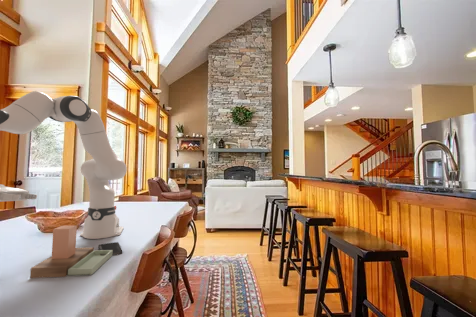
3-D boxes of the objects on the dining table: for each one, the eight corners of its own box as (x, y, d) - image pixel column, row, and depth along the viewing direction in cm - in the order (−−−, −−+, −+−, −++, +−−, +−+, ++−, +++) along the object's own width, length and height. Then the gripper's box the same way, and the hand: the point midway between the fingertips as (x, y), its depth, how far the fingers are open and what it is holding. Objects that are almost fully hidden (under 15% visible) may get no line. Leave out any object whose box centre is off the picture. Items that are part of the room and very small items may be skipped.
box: (93, 255, 93) (93, 250, 93) (112, 255, 94) (112, 249, 94) (67, 275, 76) (67, 269, 76) (91, 275, 76) (91, 268, 77)
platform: (65, 255, 92) (66, 247, 93) (93, 255, 94) (93, 247, 94) (30, 277, 74) (30, 268, 74) (65, 276, 75) (66, 266, 75)
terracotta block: (60, 253, 86) (61, 225, 87) (75, 253, 87) (76, 225, 87) (51, 258, 81) (53, 229, 82) (67, 258, 82) (69, 228, 83)
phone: (100, 255, 92) (98, 244, 104) (100, 258, 92) (98, 247, 104) (123, 251, 96) (118, 241, 109) (123, 254, 96) (118, 244, 109)
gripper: (-45, 182, 70) (11, 187, 74) (2, 184, 90) (45, 188, 93) (-52, 204, 69) (5, 208, 73) (-2, 201, 89) (41, 205, 92)
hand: (28, 197), depth 83 cm, fingers open, 8 cm apart
